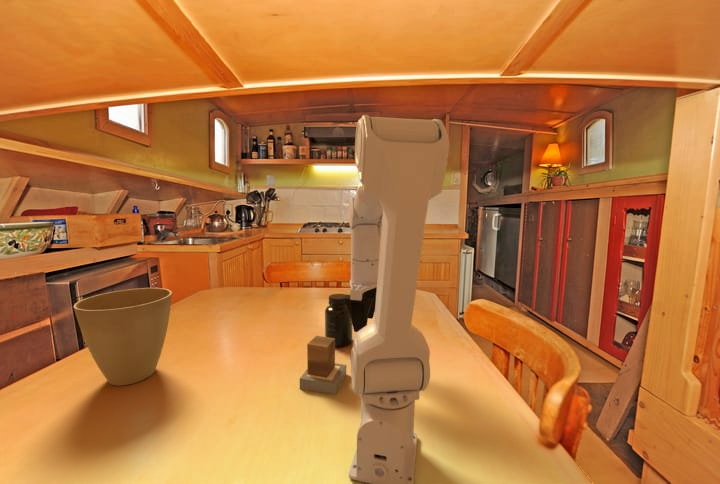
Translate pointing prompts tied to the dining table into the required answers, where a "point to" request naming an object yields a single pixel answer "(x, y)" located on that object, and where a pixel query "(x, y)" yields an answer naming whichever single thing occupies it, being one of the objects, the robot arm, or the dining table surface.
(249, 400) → the dining table surface
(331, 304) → the supplement bottle
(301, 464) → the dining table surface
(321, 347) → the walnut block
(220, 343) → the dining table surface
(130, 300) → the plant pot
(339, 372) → the base tile
